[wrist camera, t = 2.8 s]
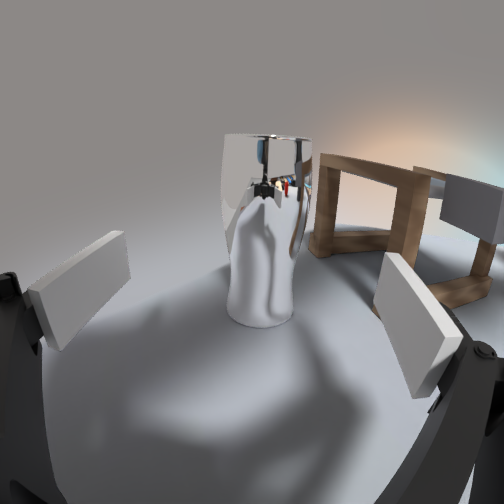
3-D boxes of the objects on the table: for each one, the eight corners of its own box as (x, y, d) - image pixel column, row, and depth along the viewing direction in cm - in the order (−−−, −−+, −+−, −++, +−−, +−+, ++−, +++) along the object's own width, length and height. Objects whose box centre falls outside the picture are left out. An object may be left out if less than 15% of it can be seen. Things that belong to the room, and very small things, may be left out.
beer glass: (310, 305, 26) (329, 140, 21) (269, 343, 21) (284, 134, 16) (252, 282, 30) (258, 136, 25) (205, 310, 25) (202, 134, 19)
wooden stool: (405, 243, 44) (417, 166, 39) (486, 295, 27) (513, 195, 22) (308, 249, 40) (317, 152, 35) (389, 328, 23) (424, 175, 18)
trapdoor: (486, 245, 15) (497, 189, 13) (340, 182, 34) (343, 151, 33) (536, 240, 18) (543, 203, 16) (415, 189, 37) (418, 163, 36)
